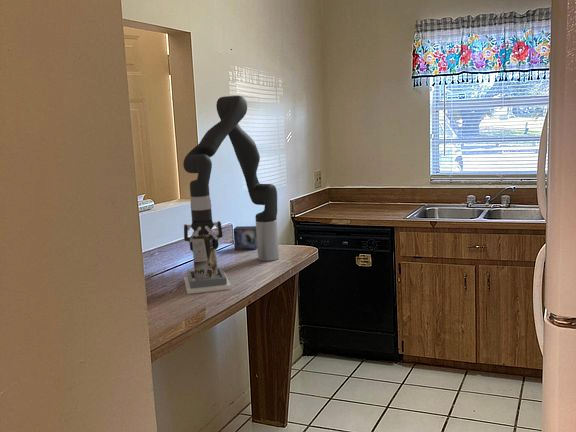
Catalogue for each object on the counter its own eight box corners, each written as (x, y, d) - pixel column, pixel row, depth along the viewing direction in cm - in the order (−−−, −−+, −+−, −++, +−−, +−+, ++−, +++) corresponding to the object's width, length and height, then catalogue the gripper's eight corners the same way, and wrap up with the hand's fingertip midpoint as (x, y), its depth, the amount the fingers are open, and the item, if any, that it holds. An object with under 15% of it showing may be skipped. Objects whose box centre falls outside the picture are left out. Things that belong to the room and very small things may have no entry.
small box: (234, 250, 286) (232, 228, 285) (237, 247, 293) (236, 226, 291) (255, 250, 284) (254, 228, 283) (258, 247, 291) (257, 225, 289)
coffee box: (211, 280, 223) (207, 238, 220) (194, 280, 224) (191, 238, 222) (218, 274, 232) (215, 233, 229) (202, 274, 233) (199, 233, 231)
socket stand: (184, 280, 236) (183, 270, 235) (224, 276, 239) (224, 266, 239) (187, 293, 218) (186, 283, 217) (231, 288, 221) (230, 278, 220)
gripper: (219, 204, 229) (222, 246, 232) (181, 208, 226) (184, 250, 229) (221, 207, 222) (224, 250, 224) (182, 210, 219) (186, 254, 221)
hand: (204, 250), depth 226 cm, fingers closed on coffee box, 8 cm apart
